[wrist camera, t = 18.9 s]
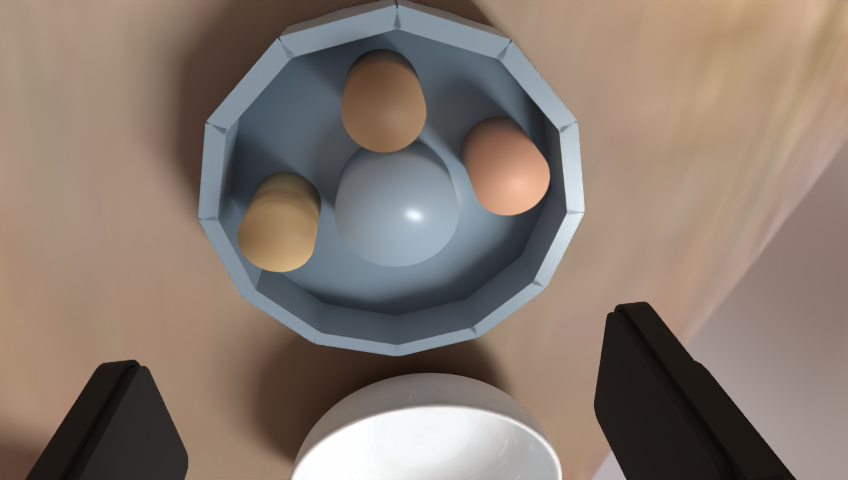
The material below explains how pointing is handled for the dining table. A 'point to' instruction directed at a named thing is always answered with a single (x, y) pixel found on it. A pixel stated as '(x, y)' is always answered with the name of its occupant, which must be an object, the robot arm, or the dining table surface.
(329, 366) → the dining table surface
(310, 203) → the bead
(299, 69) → the tray
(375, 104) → the bead
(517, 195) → the bead
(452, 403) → the serving bowl
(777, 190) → the dining table surface
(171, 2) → the dining table surface
